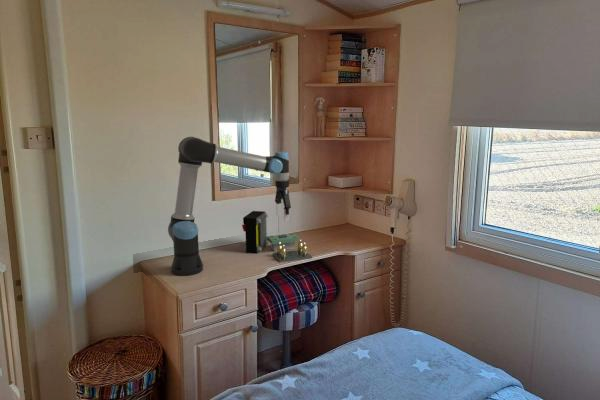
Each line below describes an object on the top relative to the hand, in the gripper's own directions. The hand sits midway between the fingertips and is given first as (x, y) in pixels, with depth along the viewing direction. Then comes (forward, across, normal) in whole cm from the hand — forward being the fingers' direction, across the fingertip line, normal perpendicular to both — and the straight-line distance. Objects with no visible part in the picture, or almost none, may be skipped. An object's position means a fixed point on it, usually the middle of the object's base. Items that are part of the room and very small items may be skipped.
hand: (282, 217), depth 244 cm
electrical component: (+18, +6, +14) cm, 24 cm away
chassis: (+18, -15, 0) cm, 24 cm away
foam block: (+18, 0, 0) cm, 18 cm away
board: (+13, 0, 0) cm, 13 cm away
